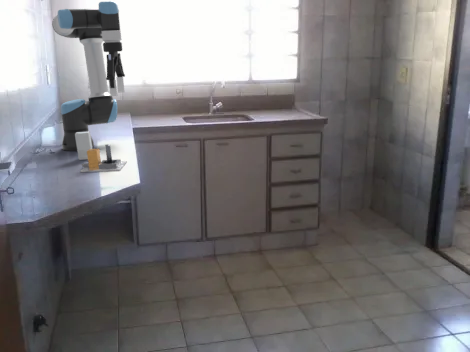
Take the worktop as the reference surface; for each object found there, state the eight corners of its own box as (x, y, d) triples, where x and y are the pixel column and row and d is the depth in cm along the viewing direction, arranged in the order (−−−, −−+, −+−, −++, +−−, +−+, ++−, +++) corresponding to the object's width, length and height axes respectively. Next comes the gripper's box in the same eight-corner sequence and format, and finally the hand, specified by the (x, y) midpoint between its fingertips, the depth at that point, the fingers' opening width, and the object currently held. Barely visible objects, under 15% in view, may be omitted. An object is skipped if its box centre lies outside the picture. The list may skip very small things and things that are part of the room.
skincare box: (94, 157, 223) (90, 130, 220) (92, 159, 219) (88, 132, 216) (80, 158, 223) (76, 131, 219) (78, 160, 218) (74, 133, 215)
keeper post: (89, 164, 211) (86, 142, 208) (126, 162, 211) (124, 141, 208) (80, 172, 198) (77, 149, 196) (120, 170, 198) (117, 147, 195)
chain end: (80, 169, 201) (77, 152, 199) (85, 164, 208) (83, 148, 206) (116, 167, 201) (115, 150, 199) (120, 163, 208) (119, 146, 206)
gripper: (110, 41, 212) (115, 91, 218) (94, 42, 188) (101, 98, 194) (127, 41, 212) (132, 90, 218) (114, 41, 188) (120, 97, 194)
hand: (117, 94), depth 206 cm, fingers open, 13 cm apart
